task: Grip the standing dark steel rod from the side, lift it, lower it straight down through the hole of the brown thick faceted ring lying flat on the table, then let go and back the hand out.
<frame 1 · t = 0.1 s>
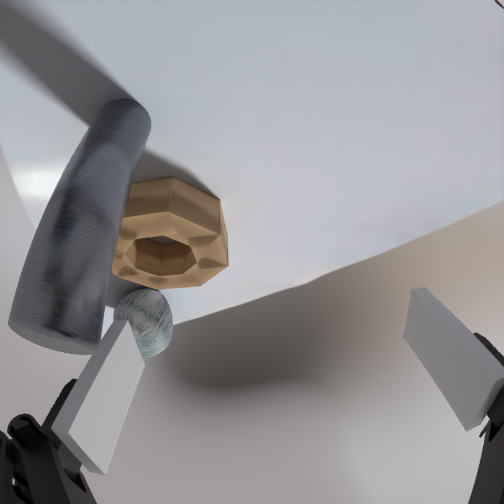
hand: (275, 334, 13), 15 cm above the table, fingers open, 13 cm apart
grey yarn skein: (144, 300, 43), on the table
brown thick faceted ring: (164, 224, 29), on the table
rod: (123, 124, 19), on the table
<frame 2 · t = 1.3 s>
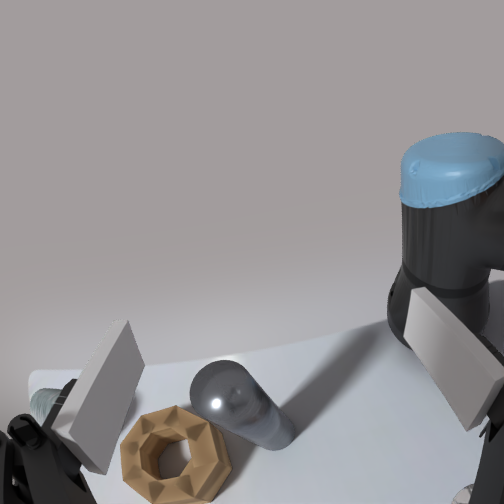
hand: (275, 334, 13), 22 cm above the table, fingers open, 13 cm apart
grey yarn skein: (82, 429, 34), on the table
brown thick faceted ring: (181, 463, 27), on the table
rod: (275, 432, 28), on the table, tilted 9°
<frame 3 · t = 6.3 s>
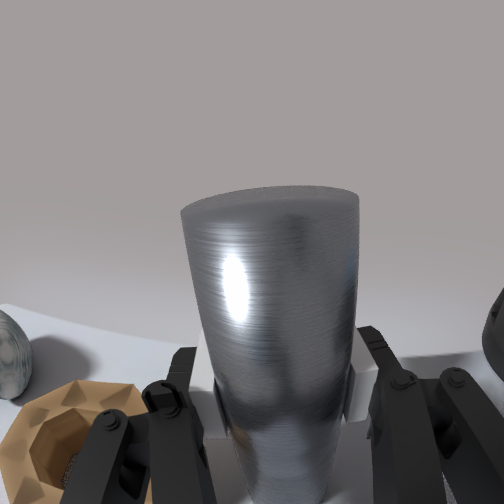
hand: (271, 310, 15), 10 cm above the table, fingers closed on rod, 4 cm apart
grey yarn skein: (9, 376, 22), on the table
brown thick faceted ring: (101, 478, 13), on the table
rod: (287, 488, 13), on the table, touching gripper
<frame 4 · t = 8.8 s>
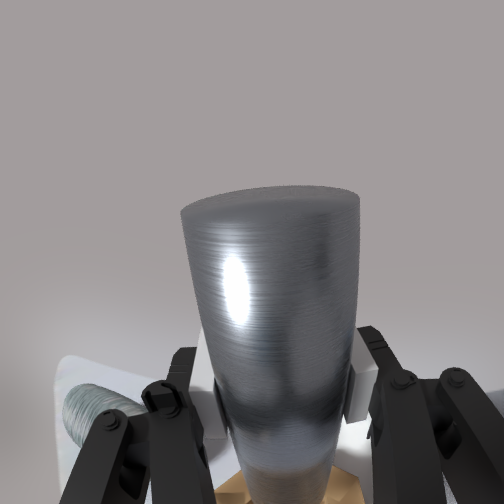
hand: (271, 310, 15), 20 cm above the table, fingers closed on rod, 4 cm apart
grey yarn skein: (128, 450, 25), on the table
rod: (287, 488, 13), point 11 cm above the table, touching gripper
when the fingers open (11 cm above the table, at t = 11.2 s): rod drops 1 cm, resting in brown thick faceted ring.
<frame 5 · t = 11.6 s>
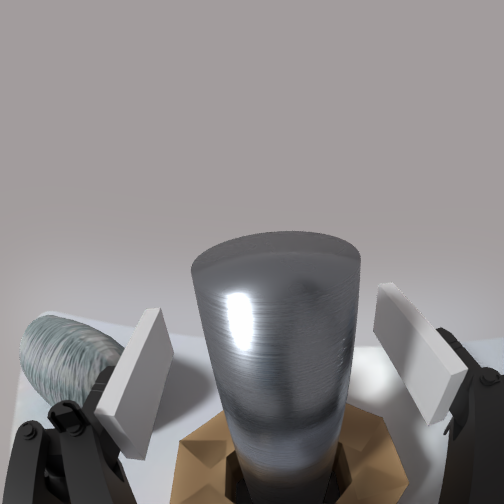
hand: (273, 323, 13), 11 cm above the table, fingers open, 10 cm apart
grey yarn skein: (92, 401, 22), on the table
brown thick faceted ring: (287, 496, 13), on the table
rod: (288, 496, 13), resting in brown thick faceted ring
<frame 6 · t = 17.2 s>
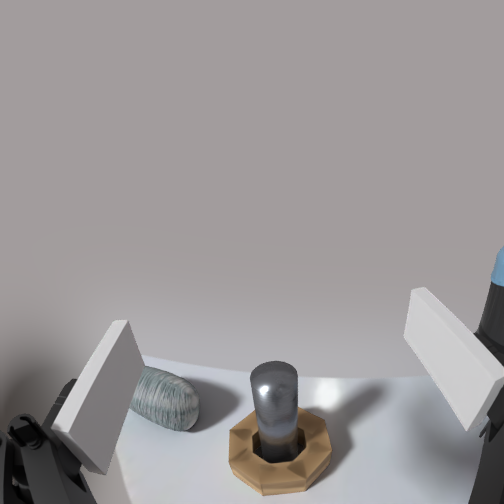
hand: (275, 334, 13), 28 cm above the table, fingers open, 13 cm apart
grey yarn skein: (166, 413, 40), on the table
brown thick faceted ring: (280, 456, 31), on the table
rod: (280, 456, 31), resting in brown thick faceted ring
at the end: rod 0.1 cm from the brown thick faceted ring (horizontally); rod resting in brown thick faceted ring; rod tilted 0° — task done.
